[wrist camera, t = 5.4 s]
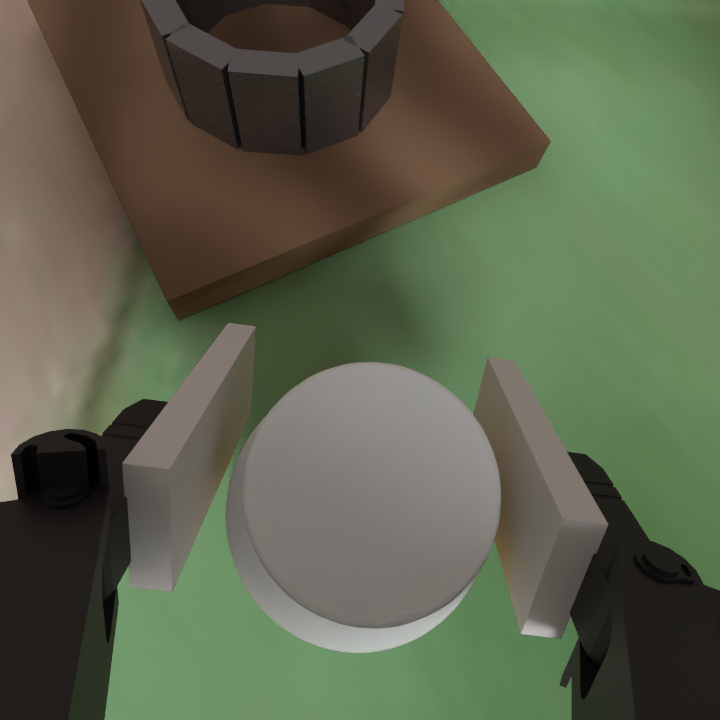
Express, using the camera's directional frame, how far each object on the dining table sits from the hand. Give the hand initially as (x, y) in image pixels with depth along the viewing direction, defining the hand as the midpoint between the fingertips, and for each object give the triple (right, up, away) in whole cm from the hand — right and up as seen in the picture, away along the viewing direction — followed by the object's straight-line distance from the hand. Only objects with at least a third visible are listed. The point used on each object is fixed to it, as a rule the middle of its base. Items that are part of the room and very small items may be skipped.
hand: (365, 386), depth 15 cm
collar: (-3, +13, +7) cm, 15 cm away
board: (-3, +12, +8) cm, 15 cm away
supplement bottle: (-1, -5, +2) cm, 5 cm away
